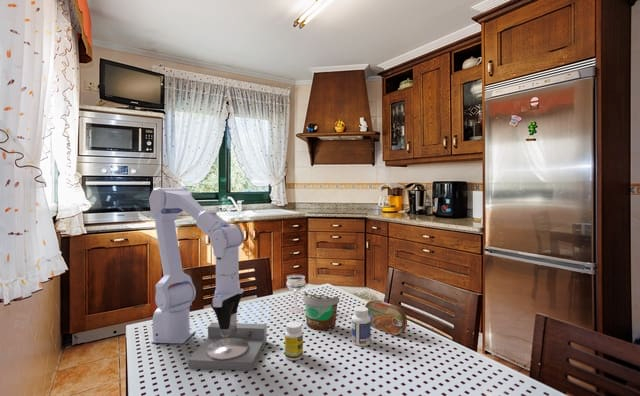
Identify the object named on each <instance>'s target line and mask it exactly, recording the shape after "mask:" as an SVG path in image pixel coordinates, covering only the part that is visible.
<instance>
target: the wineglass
mask: <svg viewBox="0 0 640 396" xmlns="http://www.w3.org/2000/svg"><path fill="white" fill-rule="evenodd" d="M305 278H306V276H305V275H303V274H290V275H287V276H286V279H287V280H286V287H287V288H288V289H289V290H290V292H293V293H294V304H295V306H294V307H290V308H289V310H288V311H289V312H290V313H293V314H294V313H295V314H296V313H302V312H303V310H304V309H303V308H301V307H297V306H298V305H297V303H298V302H297V301H298V299H297V298H298V293H299V292H300V291H302V290H303V289H304V288H305V286H306V280H305Z"/></svg>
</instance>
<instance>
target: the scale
mask: <svg viewBox="0 0 640 396" xmlns="http://www.w3.org/2000/svg"><path fill="white" fill-rule="evenodd" d="M267 325H268V324H267V323H264V324H263V323H239V322H237V332H236V333H234V334H232V335H222V334H221V329H220V327H219V323H218V322H211V323H210V324H209V325H208V327H207V338H206V339H205V340H204V342H202V344H201V345H200V346H199V347H198V348H197V349H196V350H195V352H194V353H193V354H191V356H190V357H189V358H188V359H187V368H188V369H203V370H204V369H208V370H229V371H231V370H232V371H253V370H254V368H255V366H256V364H257V361H258V360H259V358H260V356H261V354H262V352H263V349H264V347H265V346H266V343H267V341H268V339H267V338H268V337H267V334H268V333H267V331H268V330H267V327H268V326H267ZM225 338H240V339H244V340H245V341H247V342H248V351H247V352H246V353H245V354H244V355H242V356H240V357H238V358H235V359H231V360H214V359H211V358H209V357H208V356H207V347H208V346H209V345H210V344H211V343H213V342H215V341H217V340H220V339H225Z"/></svg>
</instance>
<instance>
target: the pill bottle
mask: <svg viewBox="0 0 640 396" xmlns="http://www.w3.org/2000/svg"><path fill="white" fill-rule="evenodd" d="M353 313H354V314H353V315H352V316H351V343H352V344H354V345H355V346H358V347H366V346H368V345H370V344H371V328H372V326H371V319H370V317H369V316H368V308H366V307H365V306H356V307H354V309H353Z"/></svg>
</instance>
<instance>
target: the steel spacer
mask: <svg viewBox="0 0 640 396" xmlns="http://www.w3.org/2000/svg"><path fill="white" fill-rule="evenodd" d="M237 314H238V312H237V313H235V312H232V313H231V319H230V326H229V329H221V334H222V335H232V334H234V333H236V332H237V323H238V322H237V320H238V317H237Z"/></svg>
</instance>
